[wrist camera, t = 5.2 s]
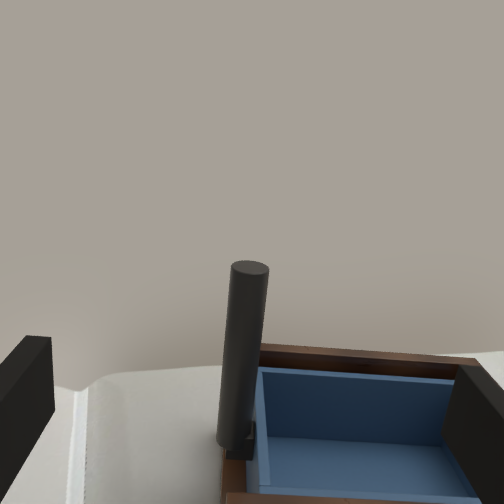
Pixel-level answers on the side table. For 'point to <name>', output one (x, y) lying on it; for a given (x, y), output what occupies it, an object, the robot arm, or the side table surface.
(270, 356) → the walnut drawer box
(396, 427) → the blue drawer insert
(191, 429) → the side table surface
